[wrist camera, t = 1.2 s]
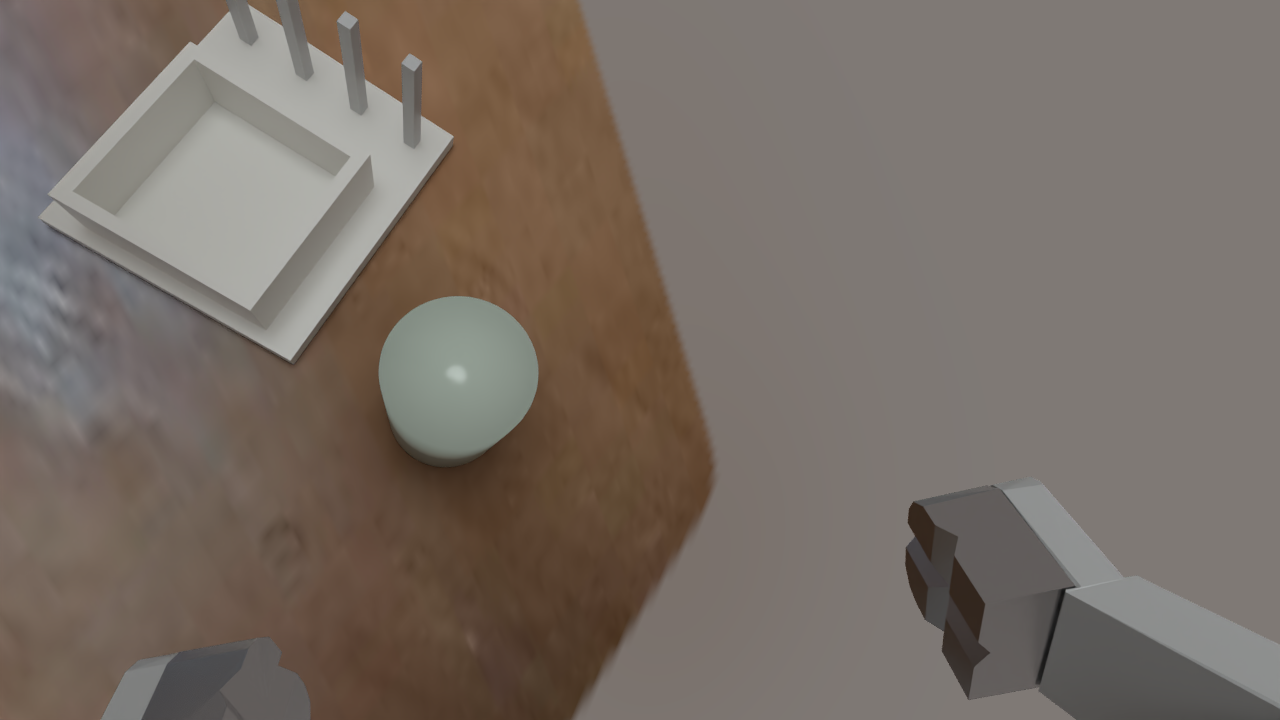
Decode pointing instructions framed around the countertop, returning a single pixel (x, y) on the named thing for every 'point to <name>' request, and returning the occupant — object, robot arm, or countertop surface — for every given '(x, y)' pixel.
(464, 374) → the sage green cylinder
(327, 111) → the dish rack
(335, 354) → the countertop surface
